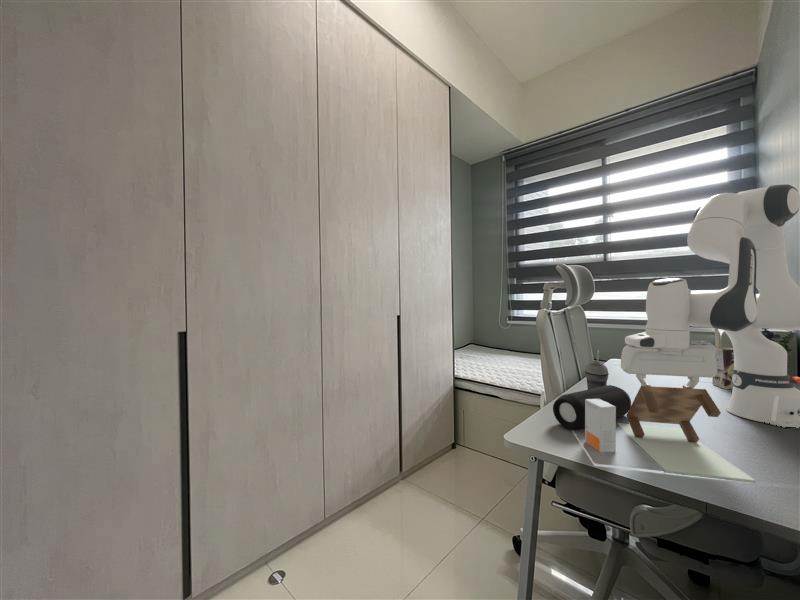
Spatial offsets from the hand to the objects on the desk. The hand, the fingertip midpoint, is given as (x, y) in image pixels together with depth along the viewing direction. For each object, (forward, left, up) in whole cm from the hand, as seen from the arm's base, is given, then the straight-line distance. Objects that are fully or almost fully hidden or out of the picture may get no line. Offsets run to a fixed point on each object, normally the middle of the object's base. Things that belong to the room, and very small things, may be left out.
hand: (666, 391), depth 83 cm
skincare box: (+18, +7, -14) cm, 24 cm away
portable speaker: (+14, -11, -14) cm, 23 cm away
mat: (0, +3, -14) cm, 14 cm away
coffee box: (-52, -61, -14) cm, 82 cm away
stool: (0, -4, -11) cm, 12 cm away
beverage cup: (+8, -27, -14) cm, 32 cm away
